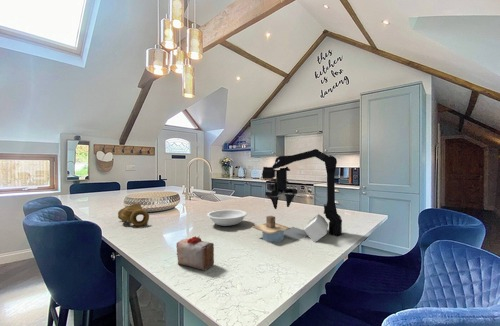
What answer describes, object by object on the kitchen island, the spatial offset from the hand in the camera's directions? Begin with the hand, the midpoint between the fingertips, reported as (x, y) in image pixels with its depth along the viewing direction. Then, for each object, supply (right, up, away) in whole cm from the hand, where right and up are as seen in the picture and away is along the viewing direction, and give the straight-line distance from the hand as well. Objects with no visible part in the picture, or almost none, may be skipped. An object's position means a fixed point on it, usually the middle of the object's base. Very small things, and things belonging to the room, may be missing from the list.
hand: (281, 207), depth 122 cm
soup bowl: (-31, -13, +12) cm, 35 cm away
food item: (-37, -12, -41) cm, 57 cm away
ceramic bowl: (-6, -12, -15) cm, 20 cm away
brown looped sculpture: (-91, -13, +18) cm, 93 cm away
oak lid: (-7, -7, -14) cm, 17 cm away
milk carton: (+12, -7, -20) cm, 25 cm away
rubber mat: (+5, -12, -7) cm, 15 cm away
